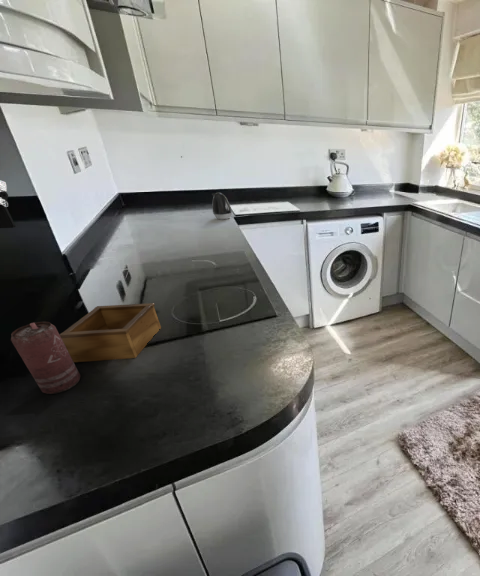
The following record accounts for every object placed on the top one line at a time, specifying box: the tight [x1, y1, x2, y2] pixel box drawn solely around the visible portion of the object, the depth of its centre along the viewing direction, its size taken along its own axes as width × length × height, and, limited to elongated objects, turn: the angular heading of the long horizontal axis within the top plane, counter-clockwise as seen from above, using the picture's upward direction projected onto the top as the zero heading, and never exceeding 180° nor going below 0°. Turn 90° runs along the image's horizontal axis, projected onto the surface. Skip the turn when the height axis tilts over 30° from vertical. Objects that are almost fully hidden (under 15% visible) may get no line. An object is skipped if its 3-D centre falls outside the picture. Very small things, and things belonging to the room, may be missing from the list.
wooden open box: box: [59, 302, 162, 363], centre depth 79 cm, size 13×13×8 cm
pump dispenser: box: [211, 192, 233, 220], centre depth 190 cm, size 10×10×15 cm
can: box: [10, 321, 81, 395], centre depth 65 cm, size 6×6×14 cm
